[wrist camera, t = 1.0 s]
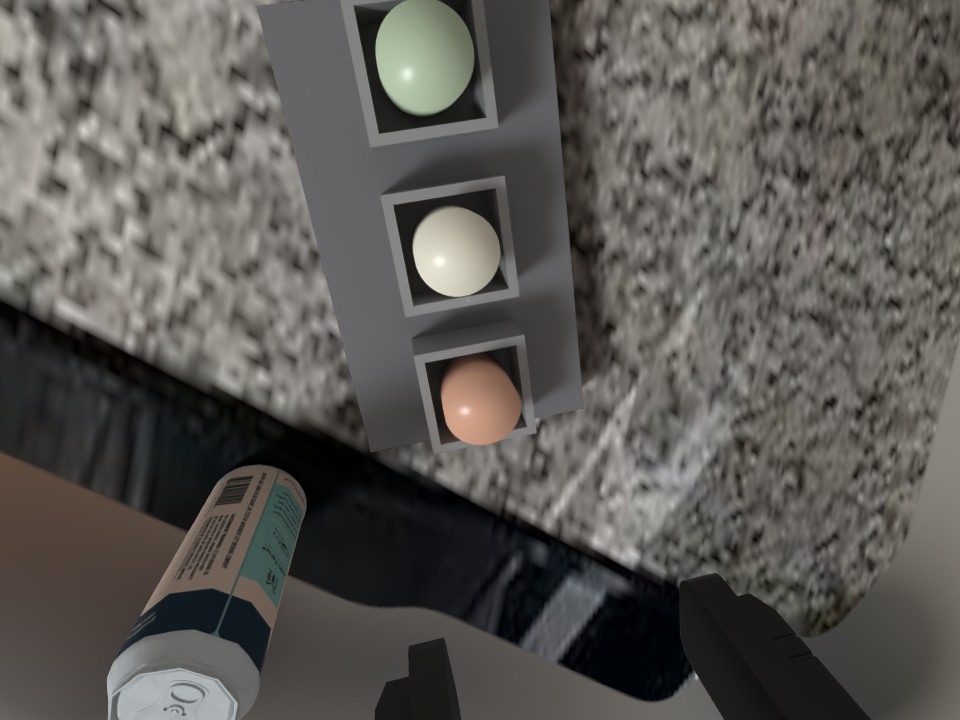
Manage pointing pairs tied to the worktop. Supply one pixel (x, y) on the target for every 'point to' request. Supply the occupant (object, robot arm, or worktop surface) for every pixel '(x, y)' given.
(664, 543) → the worktop surface
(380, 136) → the grey boxy piece
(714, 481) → the worktop surface
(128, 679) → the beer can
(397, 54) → the sage button
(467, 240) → the cream button
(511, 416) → the terracotta button
